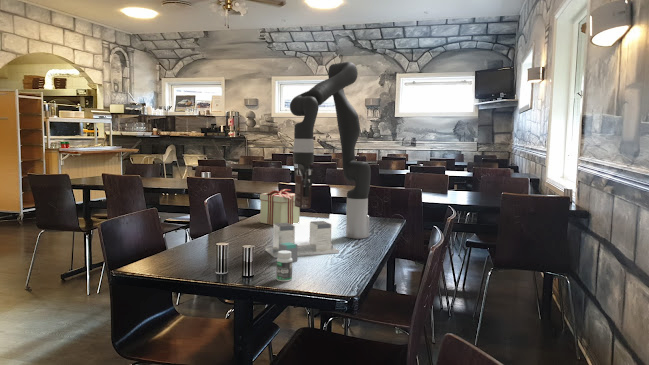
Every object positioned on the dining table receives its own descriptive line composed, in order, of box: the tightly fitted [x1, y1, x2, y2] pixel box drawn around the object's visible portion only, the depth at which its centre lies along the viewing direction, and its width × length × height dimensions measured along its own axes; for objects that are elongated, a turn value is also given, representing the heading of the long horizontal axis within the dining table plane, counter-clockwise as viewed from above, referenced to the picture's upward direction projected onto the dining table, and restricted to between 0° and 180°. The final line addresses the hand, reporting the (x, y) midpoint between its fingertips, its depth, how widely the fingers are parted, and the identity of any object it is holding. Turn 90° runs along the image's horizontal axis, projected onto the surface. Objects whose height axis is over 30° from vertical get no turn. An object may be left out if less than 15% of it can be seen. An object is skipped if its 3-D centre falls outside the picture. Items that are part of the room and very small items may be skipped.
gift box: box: [259, 188, 301, 226], centre depth 243 cm, size 17×18×17 cm
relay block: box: [279, 242, 298, 263], centre depth 165 cm, size 5×4×6 cm
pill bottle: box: [275, 250, 293, 283], centre depth 143 cm, size 5×5×8 cm
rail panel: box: [265, 220, 340, 259], centre depth 179 cm, size 25×12×11 cm, turn 112°
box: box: [294, 175, 312, 209], centre depth 178 cm, size 6×4×12 cm
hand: (303, 196), depth 178 cm, fingers closed on box, 6 cm apart
